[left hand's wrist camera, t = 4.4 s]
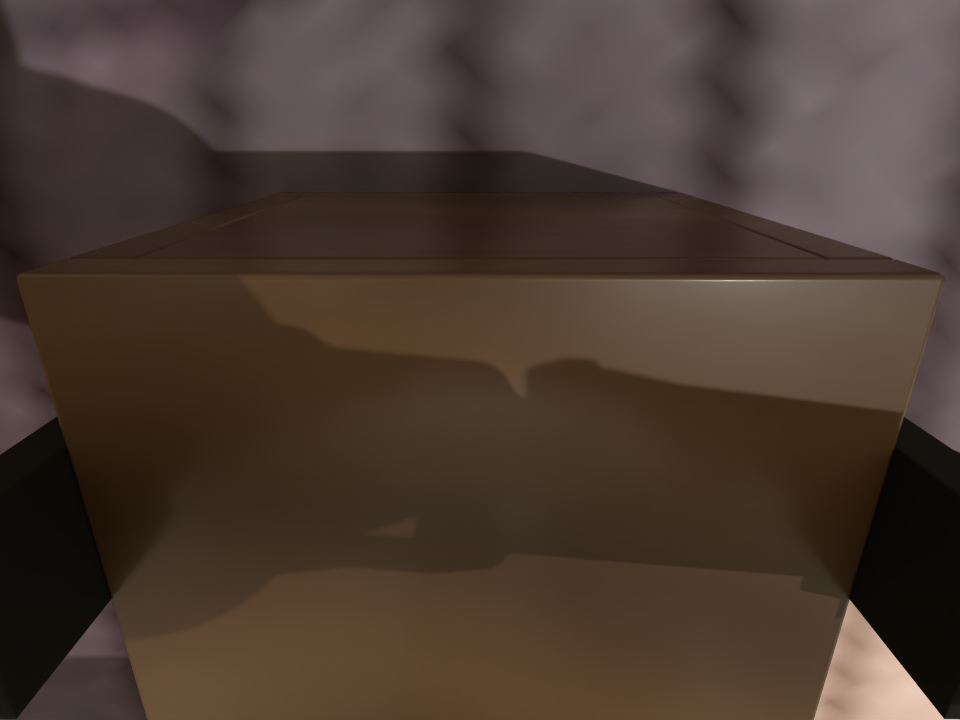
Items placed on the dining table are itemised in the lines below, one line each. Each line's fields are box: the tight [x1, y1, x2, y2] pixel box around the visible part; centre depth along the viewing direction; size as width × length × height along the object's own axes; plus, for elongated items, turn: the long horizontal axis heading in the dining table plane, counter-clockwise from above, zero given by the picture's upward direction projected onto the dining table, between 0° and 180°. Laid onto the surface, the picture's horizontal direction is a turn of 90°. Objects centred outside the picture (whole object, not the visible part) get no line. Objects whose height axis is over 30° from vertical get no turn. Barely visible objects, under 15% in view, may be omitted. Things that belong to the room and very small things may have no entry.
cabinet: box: [17, 193, 944, 720], centre depth 16 cm, size 21×12×10 cm, turn 0°
